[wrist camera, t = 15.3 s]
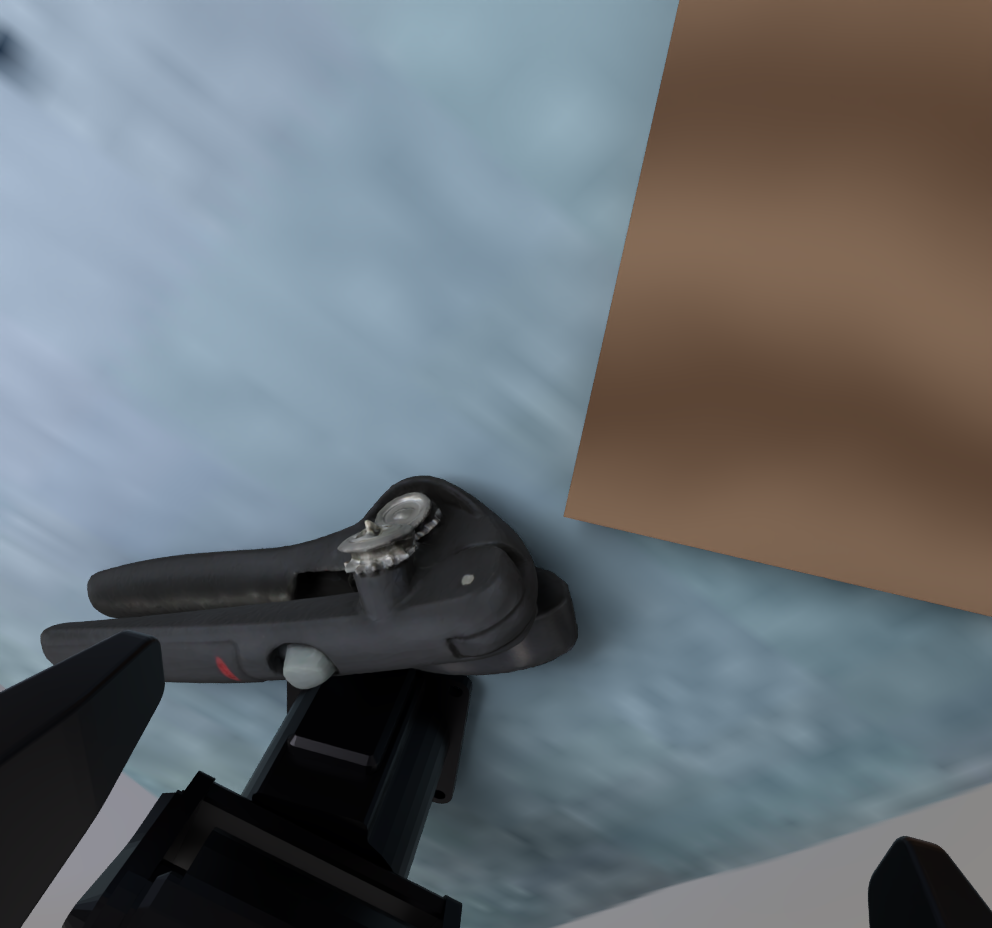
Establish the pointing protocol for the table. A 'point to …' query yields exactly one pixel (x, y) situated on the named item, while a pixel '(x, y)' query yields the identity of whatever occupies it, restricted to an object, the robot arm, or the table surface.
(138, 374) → the table surface
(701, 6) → the board
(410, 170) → the table surface
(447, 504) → the can opener
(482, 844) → the table surface
